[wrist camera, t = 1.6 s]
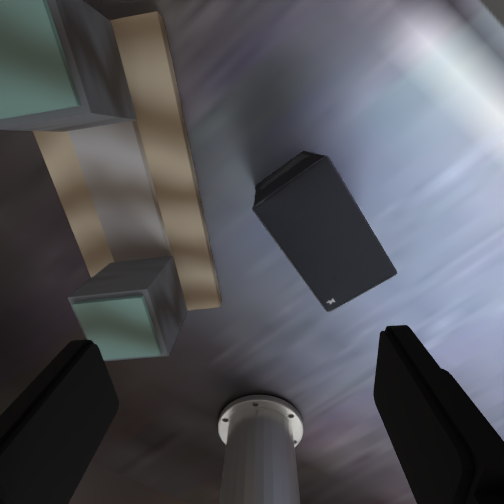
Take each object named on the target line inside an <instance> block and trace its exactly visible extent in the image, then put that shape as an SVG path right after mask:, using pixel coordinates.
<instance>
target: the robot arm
mask: <svg viewBox="0 0 504 504" xmlns="http://www.w3.org/2000/svg"><path fill="white" fill-rule="evenodd" d="M374 400H375V404H376V406H377V409H378V411H379V414H380V416H381V418H382V421H383V423H384V425H385V428H386V430H387V433H388V435H389V437H390V440H391V442H392V445H393V447H394V449H395V452H396V454H397V457H398V459H399V461H400V464H401V466H402V469H403V471H404V473H405V476H406V478H407V480H408V483H409V485H410V488H411V490H412V492H413V495H414V497H415V500H416V502H417V504H504V441H503V440H502V439H501V437H500V436H499V435H498V434H497V432H496V431H495V430H494V428H493V427H492V426H491V425H490V423H489V422H488V421H487V420H486V418H485V417H484V416H483V414H482V413H481V412H480V411H479V409H478V408H477V407H476V406H475V404H474V403H473V402H472V400H471V399H470V398H469V397H468V395H467V394H466V393H465V392H464V390H463V389H462V388H461V387H460V385H459V384H458V383H457V381H456V380H455V379H454V378H453V376H452V375H451V374H450V373H449V372H448V371H446V370H444V369H441V368H440V367H439V365H438V364H437V363H436V361H435V360H434V359H433V357H432V356H431V355H430V354H429V352H428V351H427V350H426V348H425V347H424V346H423V344H422V343H421V342H420V340H419V339H418V338H417V337H416V335H415V334H414V333H413V331H412V330H411V329H410V328H409V327H408V326H407V325H399V326H387V327H386V330H385V331H381V333H380V339H379V348H378V357H377V366H376V375H375V384H374ZM118 407H119V400H118V397H117V394H116V392H115V389H114V386H113V384H112V381H111V378H110V376H109V373H108V371H107V368H106V365H105V363H104V360H103V357H102V355H101V352H100V349H99V347H98V345H97V344H94V342H93V341H92V340H74V341H71V342H70V343H68V344H67V345H66V347H65V348H64V349H63V350H62V351H61V352H60V353H59V354H58V355H57V356H56V357H55V358H54V359H53V360H52V361H51V362H50V364H49V365H48V366H47V367H46V368H45V369H44V370H43V371H42V372H41V373H40V374H39V375H38V376H37V377H36V378H35V380H34V381H33V382H32V383H31V384H30V385H29V386H28V387H27V388H26V389H25V390H24V391H23V392H22V393H21V394H20V395H19V397H18V398H17V399H16V400H15V401H14V402H13V403H12V404H11V405H10V406H9V407H8V408H7V409H6V410H5V411H4V412H3V414H2V415H1V416H0V504H68V503H69V501H70V499H71V497H72V496H73V494H74V492H75V490H76V488H77V486H78V484H79V482H80V480H81V479H82V477H83V475H84V473H85V471H86V469H87V467H88V465H89V464H90V462H91V460H92V458H93V456H94V454H95V452H96V450H97V449H98V447H99V445H100V443H101V441H102V439H103V437H104V435H105V433H106V432H107V430H108V428H109V426H110V424H111V422H112V420H113V418H114V417H115V415H116V413H117V410H118ZM218 432H219V436H220V437H221V439H222V441H223V442H224V443H225V444H226V451H225V459H224V467H223V475H222V483H221V492H220V500H219V504H300V497H299V487H298V477H297V467H296V457H295V447H296V446H297V445H298V443H299V442H300V440H301V439H302V435H303V423H302V418H301V416H300V414H299V412H298V411H297V410H296V409H295V408H294V407H293V406H292V405H291V404H289V403H288V402H286V401H284V400H282V399H280V398H277V397H273V396H269V395H250V396H244V397H241V398H238V399H236V400H234V401H233V402H231V403H230V404H228V405H227V406H226V407H225V408H224V409H223V411H222V412H221V414H220V417H219V422H218Z"/></svg>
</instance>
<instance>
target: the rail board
mask: <svg viewBox="0 0 504 504" xmlns="http://www.w3.org/2000/svg"><path fill="white" fill-rule="evenodd" d="M0 130H21V131H33V133H34V135H35V138H36V140H37V143H38V145H39V148H40V150H41V153H42V155H43V158H44V160H45V163H46V165H47V168H48V170H49V173H50V176H51V178H52V181H53V183H54V186H55V188H56V191H57V193H58V196H59V198H60V201H61V203H62V206H63V208H64V211H65V213H66V216H67V218H68V221H69V223H70V226H71V228H72V231H73V233H74V236H75V238H76V241H77V243H78V246H79V248H80V251H81V253H82V256H83V258H84V261H85V264H86V266H87V269H88V271H89V274H90V276H91V279H90V280H88V281H87V282H86V283H85V284H83V285H82V286H81V287H80V288H78V289H77V290H76V291H75V292H74V293H72V294H71V295H70V296H69V297H67V298H68V300H69V302H70V304H71V307H72V309H73V311H74V313H75V316H76V318H77V320H78V322H79V325H80V327H81V329H82V331H83V334H84V336H85V338H86V340H92V341H93V342H94V344H97V345H98V347H99V349H100V352H101V355H102V357H103V360H104V361H113V360H125V359H138V358H150V357H162V356H169V354H170V352H171V349H172V347H173V345H174V342H175V340H176V338H177V335H178V333H179V331H180V329H181V326H182V324H183V322H184V319H185V317H186V315H187V313H188V310H198V309H208V308H219V307H220V305H221V302H222V299H221V294H220V289H219V285H218V280H217V275H216V270H215V265H214V260H213V256H212V251H211V246H210V241H209V236H208V231H207V227H206V222H205V217H204V212H203V207H202V202H201V198H200V193H199V188H198V183H197V178H196V173H195V169H194V164H193V159H192V154H191V149H190V144H189V140H188V135H187V130H186V125H185V120H184V115H183V111H182V106H181V101H180V96H179V91H178V86H177V82H176V77H175V72H174V67H173V62H172V57H171V53H170V48H169V43H168V38H167V33H166V28H165V24H164V19H163V17H162V16H161V15H160V14H159V13H158V11H155V12H150V13H145V14H140V15H134V16H129V17H124V18H119V19H114V20H108V19H107V18H106V17H104V16H103V15H102V14H100V13H99V12H98V11H96V10H95V9H94V8H93V7H91V6H90V5H89V4H87V3H86V2H85V1H83V0H0Z"/></svg>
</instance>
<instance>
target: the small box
mask: <svg viewBox="0 0 504 504" xmlns="http://www.w3.org/2000/svg"><path fill="white" fill-rule="evenodd" d="M255 190H256V191H255V192H256V193H255V202H254V206H253V208H252V210H253V211H254V212H255V214H256V215H257V217H258V218H259V219H260V221H261V222H262V224H263V225H264V226H265V228H266V229H267V231H268V232H269V233H270V235H271V236H272V237H273V239H274V240H275V242H276V243H277V244H278V246H279V247H280V249H281V250H282V251H283V253H284V254H285V255H286V257H287V258H288V260H289V261H290V262H291V264H292V265H293V266H294V268H295V269H296V270H297V272H298V273H299V274H300V276H301V277H302V279H303V280H304V281H305V283H306V284H307V285H308V287H309V288H310V290H311V291H312V292H313V294H314V295H315V297H316V298H317V299H318V301H319V302H320V303H321V305H322V306H323V307H324V309H325V310H326V311H327V312H331V311H333V310H335V309H336V308H338V307H340V306H341V305H343V304H345V303H347V302H348V301H350V300H352V299H354V298H356V297H357V296H359V295H361V294H363V293H365V292H367V291H368V290H370V289H372V288H374V287H376V286H377V285H379V284H381V283H383V282H385V281H386V280H388V279H390V278H391V277H393V276H395V275H396V274H397V271H396V269H395V267H394V266H393V264H392V262H391V261H390V259H389V258H388V256H387V254H386V252H385V251H384V249H383V247H382V246H381V244H380V242H379V241H378V239H377V237H376V236H375V234H374V232H373V231H372V229H371V227H370V226H369V224H368V222H367V221H366V219H365V217H364V216H363V214H362V212H361V211H360V209H359V207H358V205H357V204H356V202H355V200H354V199H353V197H352V195H351V194H350V192H349V190H348V189H347V187H346V185H345V183H344V182H343V180H342V178H341V177H340V175H339V173H338V172H337V170H336V168H335V166H334V165H333V163H332V161H331V160H330V158H329V157H328V156H324V155H319V154H314V153H310V152H306V151H303V152H301V153H300V154H299V155H297V156H296V157H294V158H293V159H291V160H290V161H289V162H287V163H286V164H285V165H283V166H282V167H280V168H279V169H278V170H276V171H275V172H273V173H272V174H271V175H269V176H268V177H266V178H265V179H264V180H262V181H261V182H260V183H258V184H257V185H256V187H255Z"/></svg>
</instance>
